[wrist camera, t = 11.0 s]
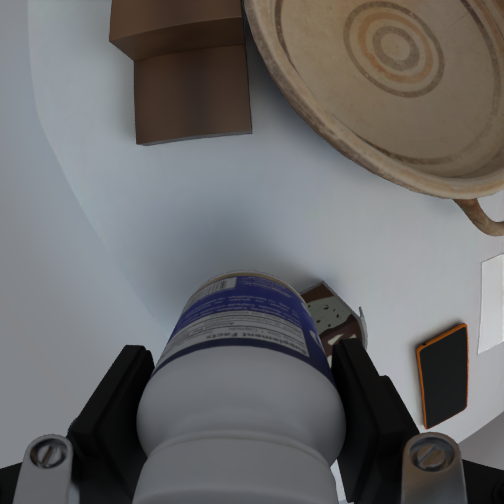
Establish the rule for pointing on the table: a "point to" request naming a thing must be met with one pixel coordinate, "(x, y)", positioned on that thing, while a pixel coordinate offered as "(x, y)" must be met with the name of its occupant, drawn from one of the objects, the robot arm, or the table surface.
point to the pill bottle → (241, 401)
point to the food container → (333, 317)
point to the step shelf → (185, 67)
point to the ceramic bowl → (397, 87)
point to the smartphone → (444, 375)
